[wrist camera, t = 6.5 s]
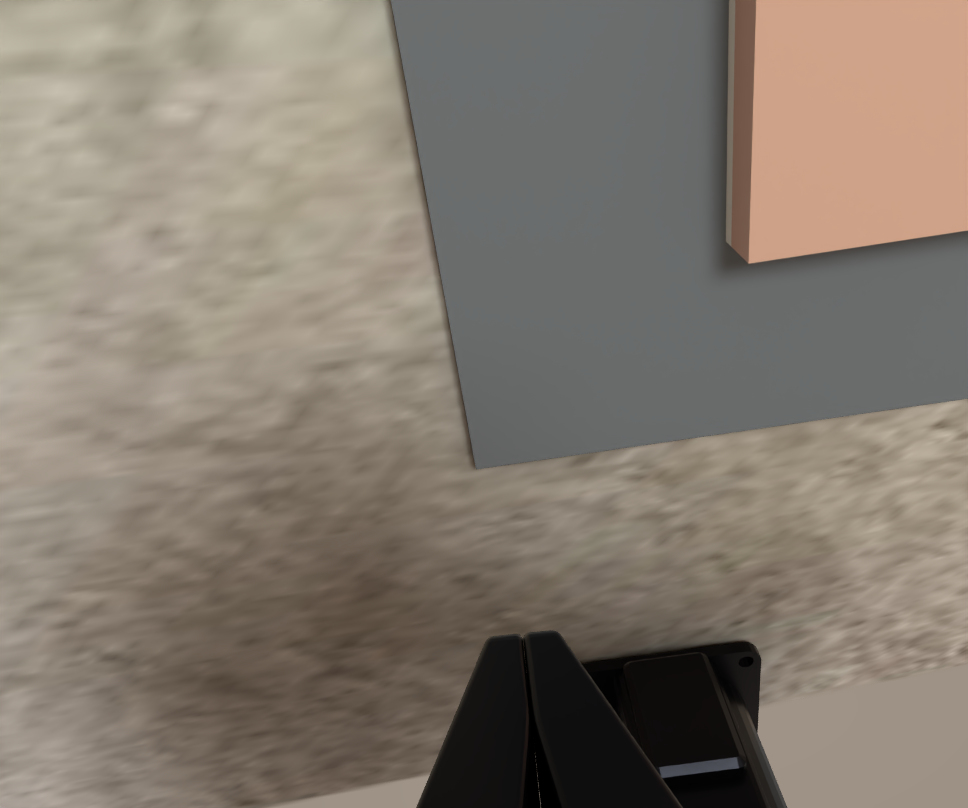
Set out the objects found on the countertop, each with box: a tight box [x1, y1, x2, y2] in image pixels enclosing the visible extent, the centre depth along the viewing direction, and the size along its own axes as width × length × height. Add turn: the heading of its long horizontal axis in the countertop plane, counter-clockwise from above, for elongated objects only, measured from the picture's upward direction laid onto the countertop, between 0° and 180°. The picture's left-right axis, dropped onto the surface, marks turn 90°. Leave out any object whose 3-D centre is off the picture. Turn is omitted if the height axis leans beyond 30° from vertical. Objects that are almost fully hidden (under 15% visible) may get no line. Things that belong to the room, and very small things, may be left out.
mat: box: [391, 0, 968, 469], centre depth 17 cm, size 18×18×1 cm
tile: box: [726, 0, 968, 264], centre depth 16 cm, size 7×2×7 cm
